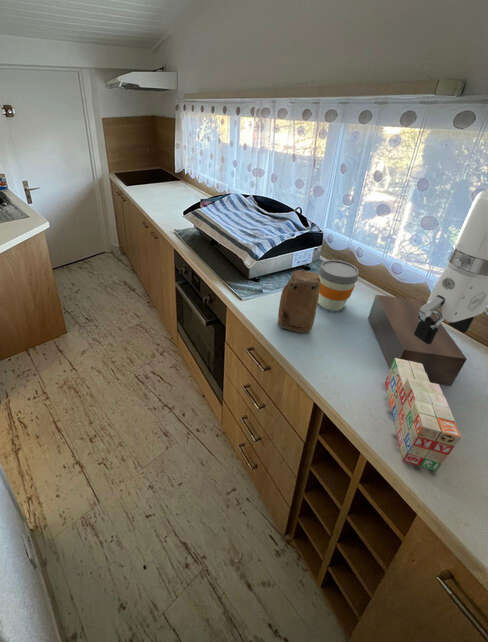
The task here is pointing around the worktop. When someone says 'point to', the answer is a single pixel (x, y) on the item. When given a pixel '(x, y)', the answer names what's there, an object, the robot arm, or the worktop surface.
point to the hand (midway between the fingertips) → (439, 333)
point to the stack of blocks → (420, 415)
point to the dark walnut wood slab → (414, 339)
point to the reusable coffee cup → (336, 283)
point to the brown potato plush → (299, 301)
